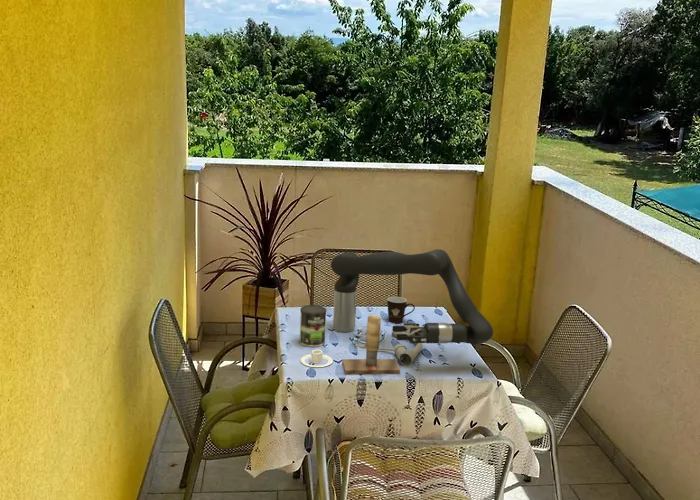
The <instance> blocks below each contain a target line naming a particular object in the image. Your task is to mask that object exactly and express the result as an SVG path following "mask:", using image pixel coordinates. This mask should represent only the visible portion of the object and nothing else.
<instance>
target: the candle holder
mask: <svg viewBox="0 0 700 500" xmlns="http://www.w3.org/2000/svg"><path fill="white" fill-rule="evenodd" d="M309 358H310V362H311V363H312V364H308V363H307V362H306V360H307V359H309ZM323 359H325V360H327V363H325V364H322V363H323ZM300 362H301V364H303V365H304V366H307V367H311V368H323V367H328V366H330V365H331V364H332V363H333V362H334V361H333V358H332V357H330V356H329V355H326V354H323V351H322V350H321V349H313V350H311V353H310V354H305V355H304V356H302V357H300ZM313 364H314V365H313ZM315 364H316V365H315ZM321 364H322V365H321Z"/></svg>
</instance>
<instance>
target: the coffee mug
mask: <svg viewBox="0 0 700 500" xmlns="http://www.w3.org/2000/svg"><path fill="white" fill-rule="evenodd" d="M386 300H387V315H388V317H387V318H388V322H389V323H391V324H395V325H396V324H397V325H398V324H402V323H403V322H404V318H405V317H406V316H408V315H410V314H411V313H413V312H414V311H415V309H416V306H415V305H414V304H413V303H407V302H408V301H407V299H406V298H405V297H402V296H390V297H388V298H387V299H386ZM408 306H412V307H413V309H412V310H411V311H410V312H409V311H408V312H407V313H406V309H407V307H408ZM405 313H406V314H405Z"/></svg>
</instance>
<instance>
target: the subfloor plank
mask: <svg viewBox="0 0 700 500" xmlns="http://www.w3.org/2000/svg"><path fill="white" fill-rule="evenodd" d="M342 367H343V371H344V375H401V369H400V367H399V364H398V362H397V360H396V358H382V359H381V358H377V365H376V366H368V365H366V358H363V359H362V358H360V359H359V358H355V359H354V358H351V359H350V358H349V359H348V358H347V359H345V358H343V359H342Z"/></svg>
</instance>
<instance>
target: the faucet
mask: <svg viewBox="0 0 700 500" xmlns="http://www.w3.org/2000/svg"><path fill="white" fill-rule="evenodd" d="M397 334H407V333H405V332H393V331H392V332H391V337H392V338H395V339H396V335H397ZM415 344H416V345H414V347H413V348H411V349H407V346H406V345H404V344H402V343H397V344H395V345H394V347H393V348H389V347H380V346H379V350H378V351H389V352H394V355H395V356H396V357H397V359H398V360H399V362H400V363H401V365H403V366H405V367H407V366H410V365H411V364H412V363H413V362H414V360H416V358H417V356H418V354H419V353H421V351H422V349H423V345H424V343H415ZM355 347H359V348H361V349H365V350H366V345H363V344H362V343H355Z"/></svg>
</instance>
